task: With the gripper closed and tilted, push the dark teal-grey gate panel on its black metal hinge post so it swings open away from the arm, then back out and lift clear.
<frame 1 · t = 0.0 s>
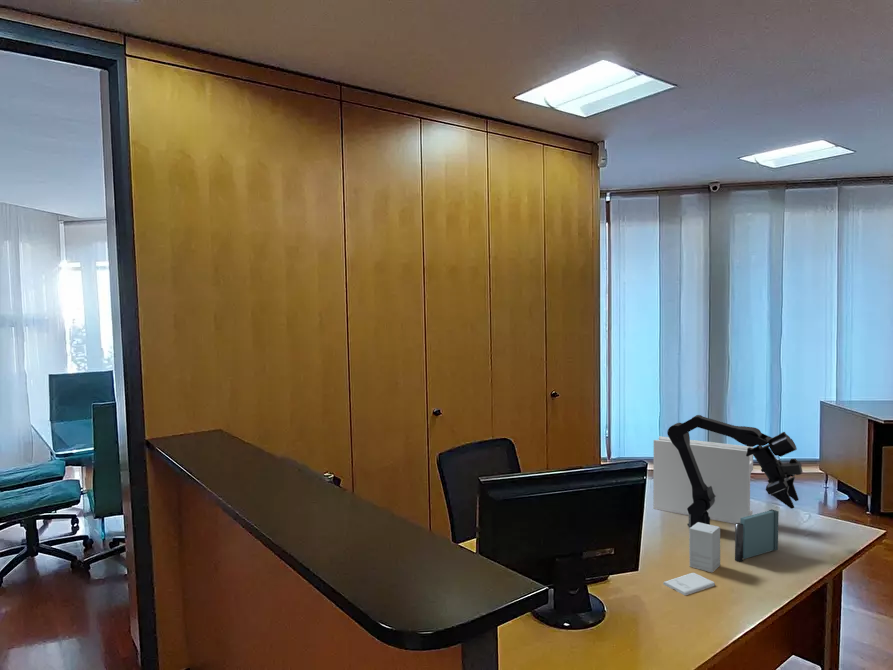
hand: (795, 504, 214), 15 cm above the table, tool tilted 35°, fingers open, 9 cm apart
supplement box: (704, 566, 201), on the table
block: (701, 514, 248), on the table
gate post: (738, 560, 205), on the table
external hard drive: (688, 587, 189), on the table
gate: (758, 533, 209), point 7 cm above the table, hinge at 0.0°
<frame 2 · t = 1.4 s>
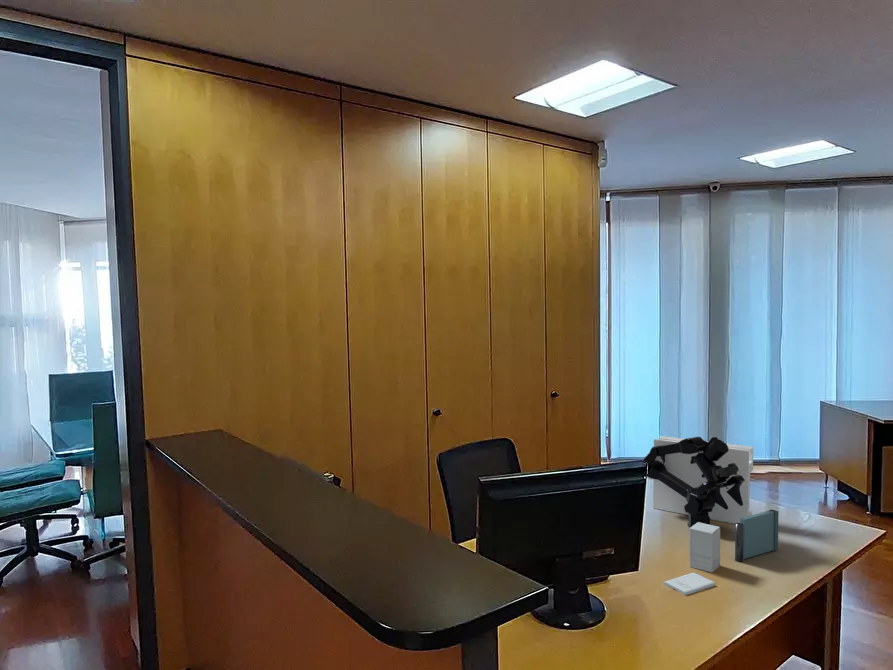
hand: (734, 507, 219), 13 cm above the table, tool tilted 45°, fingers open, 7 cm apart
block: (701, 514, 248), on the table, touching arm
everything else where it was.
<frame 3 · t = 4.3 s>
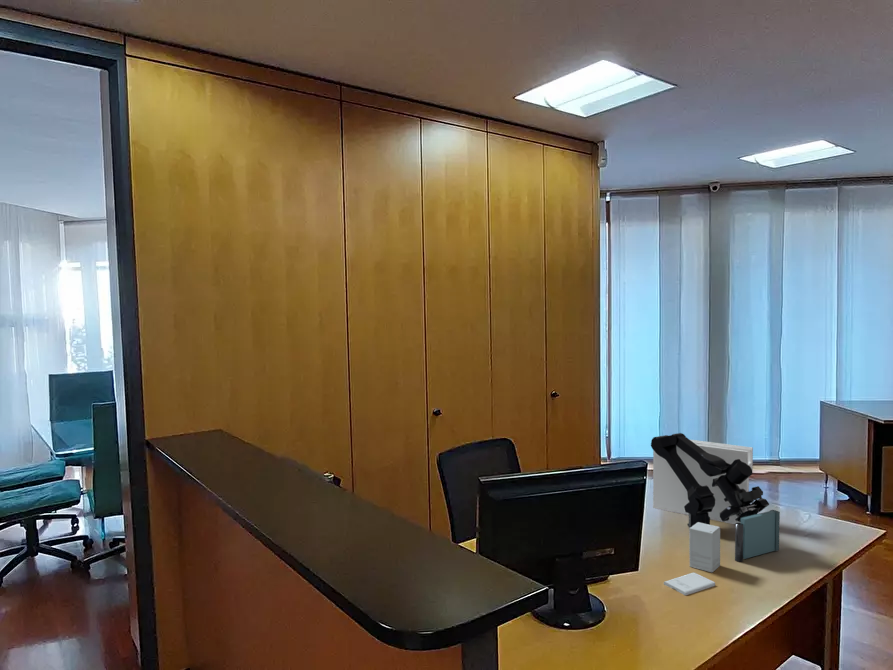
hand: (759, 532, 210), 7 cm above the table, tool tilted 45°, fingers closed, pressing on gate
block: (700, 514, 248), on the table
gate: (759, 534, 209), point 7 cm above the table, hinge at 1.5°, touching gripper
everything else where it was.
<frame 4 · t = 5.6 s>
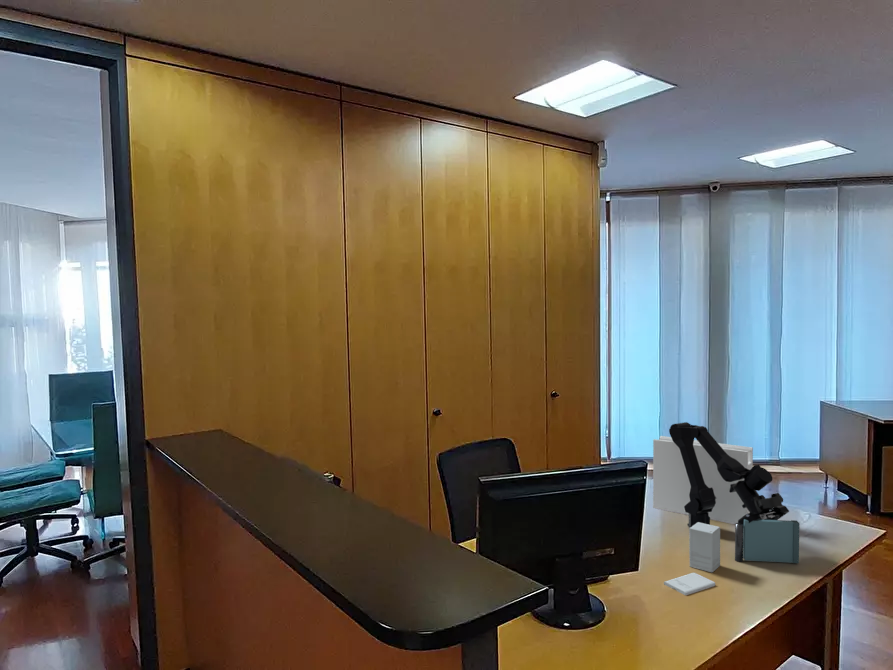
hand: (779, 541, 204), 7 cm above the table, tool tilted 45°, fingers closed
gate: (770, 540, 203), point 7 cm above the table, hinge at 36.5°
everything else where it was.
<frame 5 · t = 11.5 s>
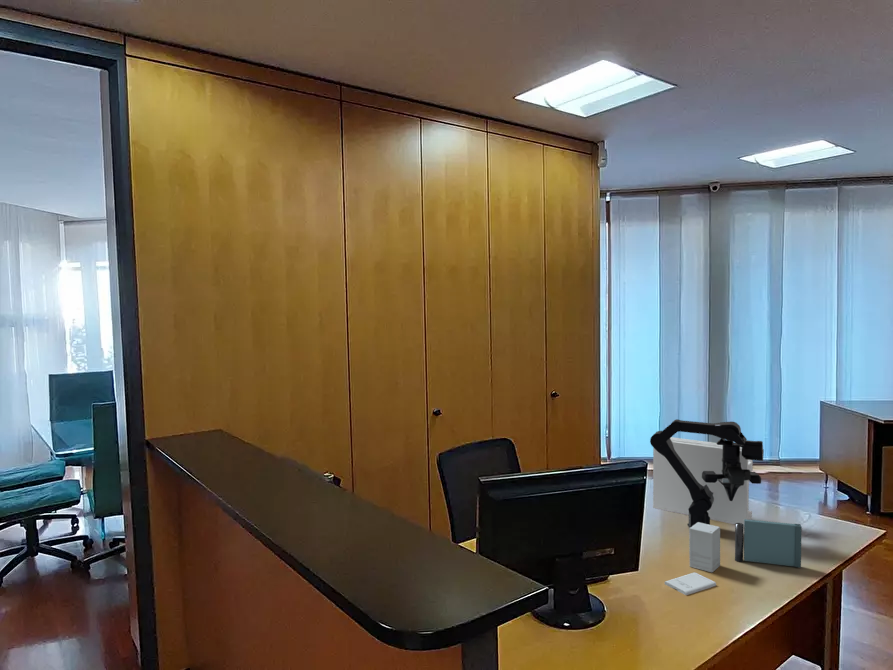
hand: (730, 500, 227), 12 cm above the table, tool pointing down, fingers closed
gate: (772, 542, 201), point 7 cm above the table, hinge at 47.0°
everything else where it was.
at the end: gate at +47° (first picture: +0°); supplement box moved 0.2 cm from its start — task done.
